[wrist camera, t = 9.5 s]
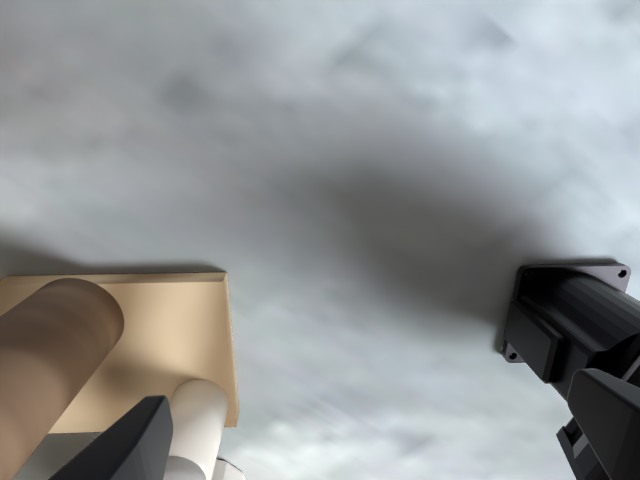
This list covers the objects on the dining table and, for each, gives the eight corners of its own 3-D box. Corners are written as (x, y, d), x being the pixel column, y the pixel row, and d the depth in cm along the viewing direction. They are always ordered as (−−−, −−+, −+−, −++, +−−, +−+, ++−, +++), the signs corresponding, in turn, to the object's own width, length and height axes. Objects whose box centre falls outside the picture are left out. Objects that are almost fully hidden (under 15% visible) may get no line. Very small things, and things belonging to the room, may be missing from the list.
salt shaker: (226, 378, 22) (201, 471, 17) (231, 423, 23) (208, 524, 18) (168, 380, 22) (122, 474, 16) (175, 425, 23) (135, 527, 18)
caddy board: (226, 272, 21) (222, 281, 20) (239, 412, 25) (236, 426, 24) (6, 276, 21) (-11, 285, 20) (49, 418, 24) (37, 433, 23)
